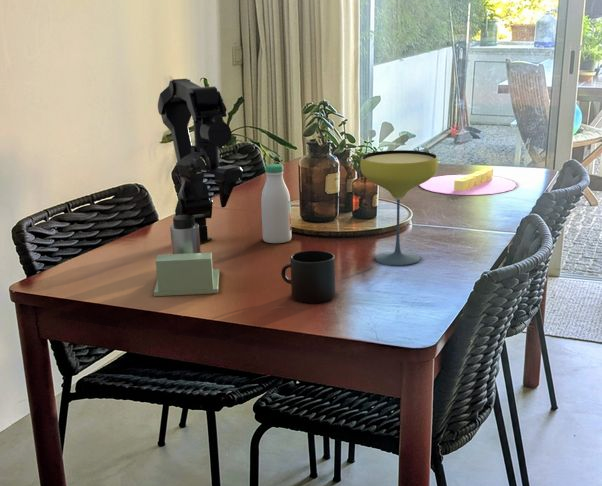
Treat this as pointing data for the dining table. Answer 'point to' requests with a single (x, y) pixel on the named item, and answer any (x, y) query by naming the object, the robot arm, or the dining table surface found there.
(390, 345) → the dining table surface
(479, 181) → the platter
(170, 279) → the pale green butter dish
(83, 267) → the dining table surface
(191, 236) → the steel travel tumbler
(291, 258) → the mug
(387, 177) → the cocktail glass
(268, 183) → the milk bottle
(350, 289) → the dining table surface
